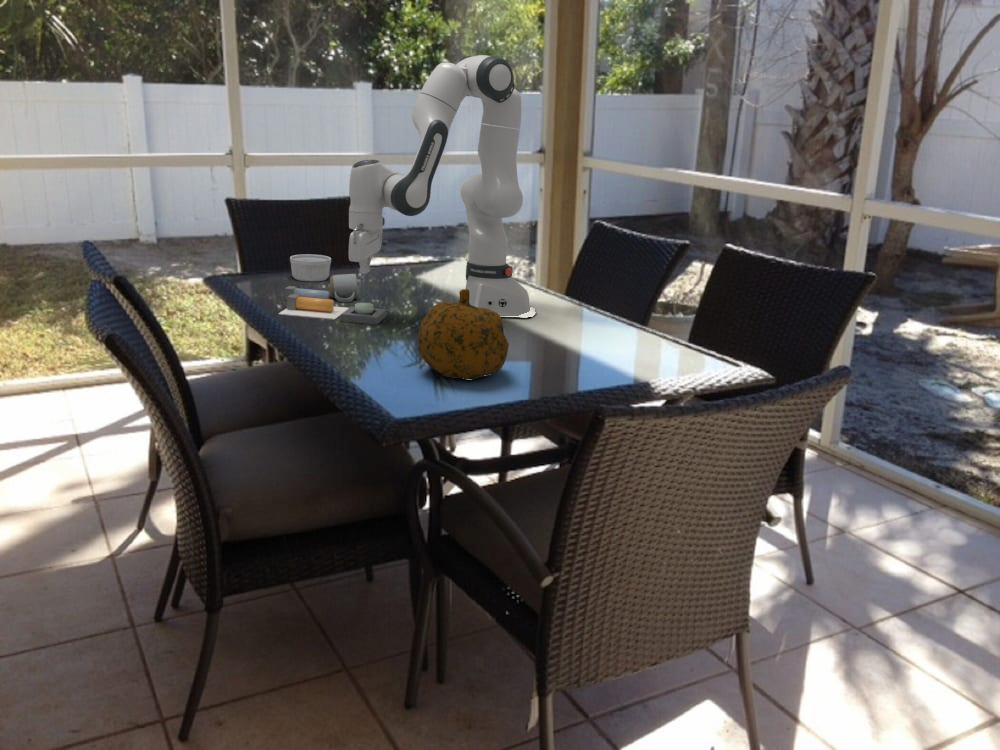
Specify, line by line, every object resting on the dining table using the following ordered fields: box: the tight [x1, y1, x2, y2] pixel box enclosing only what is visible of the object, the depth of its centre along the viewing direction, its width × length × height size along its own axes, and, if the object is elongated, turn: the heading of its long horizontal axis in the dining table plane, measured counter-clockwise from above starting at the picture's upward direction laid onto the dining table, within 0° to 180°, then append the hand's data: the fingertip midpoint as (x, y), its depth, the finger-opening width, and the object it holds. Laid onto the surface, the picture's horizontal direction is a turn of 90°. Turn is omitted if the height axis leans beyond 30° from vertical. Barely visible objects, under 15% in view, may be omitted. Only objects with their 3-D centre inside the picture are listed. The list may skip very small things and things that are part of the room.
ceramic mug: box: [329, 273, 358, 304], centre depth 281 cm, size 10×8×7 cm
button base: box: [340, 306, 387, 325], centre depth 260 cm, size 10×10×2 cm
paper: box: [278, 305, 350, 321], centre depth 265 cm, size 16×14×1 cm
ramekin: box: [289, 253, 332, 282], centre depth 308 cm, size 13×13×7 cm
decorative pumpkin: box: [417, 288, 510, 380], centre depth 214 cm, size 20×21×20 cm
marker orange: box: [286, 294, 335, 312], centre depth 265 cm, size 12×4×4 cm, turn 82°
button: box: [354, 302, 374, 315], centre depth 260 cm, size 5×5×2 cm
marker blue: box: [284, 285, 331, 302], centre depth 277 cm, size 12×4×4 cm, turn 82°
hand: (364, 272), depth 257 cm, fingers closed
